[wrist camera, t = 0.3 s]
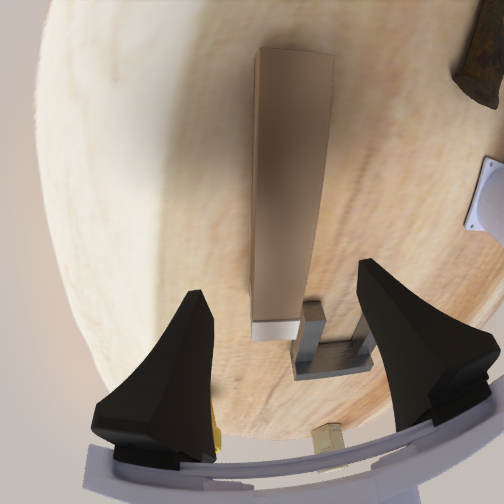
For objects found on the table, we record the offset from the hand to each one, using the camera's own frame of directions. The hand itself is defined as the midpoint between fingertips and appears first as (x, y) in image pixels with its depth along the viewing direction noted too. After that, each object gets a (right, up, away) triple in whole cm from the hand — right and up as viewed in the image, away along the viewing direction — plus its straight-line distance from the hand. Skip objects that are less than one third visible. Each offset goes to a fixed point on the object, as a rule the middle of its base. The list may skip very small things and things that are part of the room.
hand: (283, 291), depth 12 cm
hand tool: (+19, +22, -3) cm, 29 cm away
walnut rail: (0, +6, +8) cm, 10 cm away
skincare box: (+16, -40, +42) cm, 60 cm away
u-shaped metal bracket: (+8, -7, +17) cm, 20 cm away
